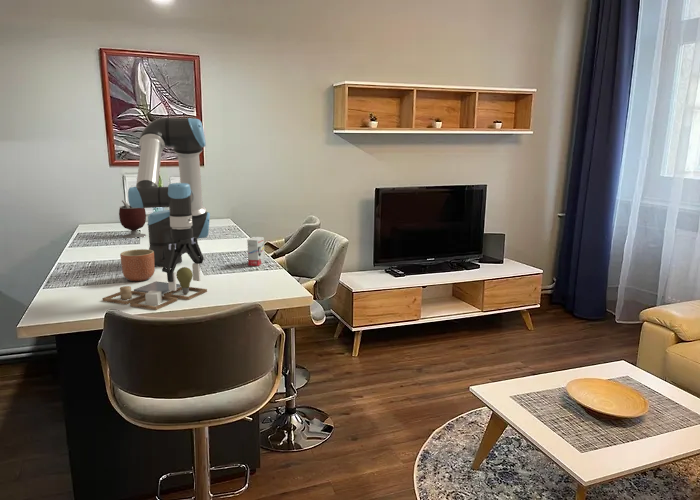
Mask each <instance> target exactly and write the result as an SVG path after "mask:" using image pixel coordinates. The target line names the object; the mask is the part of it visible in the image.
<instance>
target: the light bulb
mask: <svg viewBox="0 0 700 500" xmlns="http://www.w3.org/2000/svg"><path fill="white" fill-rule="evenodd" d="M176 280H177V282H178V284H180V285H181V288H182V290H181V292H182V294H183V295H188V294H189V293H190V290H189V287H191V286H190V284H191V282H192V280H193V270H191V269H190V268H189V267H187V266H182V267H180V268H179V269H178V270H177V271H176Z"/></svg>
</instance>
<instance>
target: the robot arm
mask: <svg viewBox="0 0 700 500" xmlns="http://www.w3.org/2000/svg"><path fill="white" fill-rule="evenodd" d="M138 142H139V146H140V153H139V154H140V156H139V163H138V168H137V169H138V170H137V178H136V185H135V186H131V187H129V188H128V190H127V199H128V205H130V206H131V207H133V208H145V209H152V208H153V209H155V208H157V209H158V208H169V209H165V210H159V211H154V212H151V213H150V214H149V215H148V216H147V228H148V230H147V231H148V242H149V246H148V250H152V251H154V265H155V267H157V266H159V267H162V269H161V272H163V273H166V280H167V283H168V285H169V290H171V291H176V290H177V288H176V284H177V276H176V274H177V272H175V270H176V267H177V265H178V264H180V263H182V261H183V258H182V256H183V255H184V254H187V255H188V257H190V259H191V260H192V264H191V265H192V266H191V267H192V274H193V277H192V280H193V281H195V282H200V281H201V264H203V262H204V261H205V260H204V259H205V258H204V256H203V253H202V251H201V248H200V245H199V243H198V240H199V239H206V238H207V237H208V236H209V230H210V219H211V213H210V212H208V211H207V208H206V207H205V206H204V205H203V192H202V191H203V189H202V178H201V177H202V176H201V167H200V165H201V162H200V154H201V153H202V152H203V148H205V147H206V137H205V131H204V126H203V124H202V121H201V120H200V119H199V118H191V117H160V118H156V119H155V120H153V121H151V122H150V123H149V124H147V125H146V127H144V129H142V131H141V134H140V137H139V141H138ZM166 147H168V148H169V147H171V148H173V152H174V153H175V154H176V155H177V157H178V158H177V159H178V171H179V179H180V180H179V181H180V182H172V183H169V184H168V186H159V182H160V181H159V180H160V172H161V162H162V161H161V160H162V152H163V151H164V150H165V148H166Z"/></svg>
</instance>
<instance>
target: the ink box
mask: <svg viewBox="0 0 700 500" xmlns="http://www.w3.org/2000/svg"><path fill="white" fill-rule="evenodd" d="M246 243H247V263H248V266H249V267H250V266H251V267H260V266H261V265H262V264H264V263H265V262H266V261H265V258H266V257H265V237H263V236H252V237H250V238H248V239H247V242H246Z"/></svg>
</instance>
